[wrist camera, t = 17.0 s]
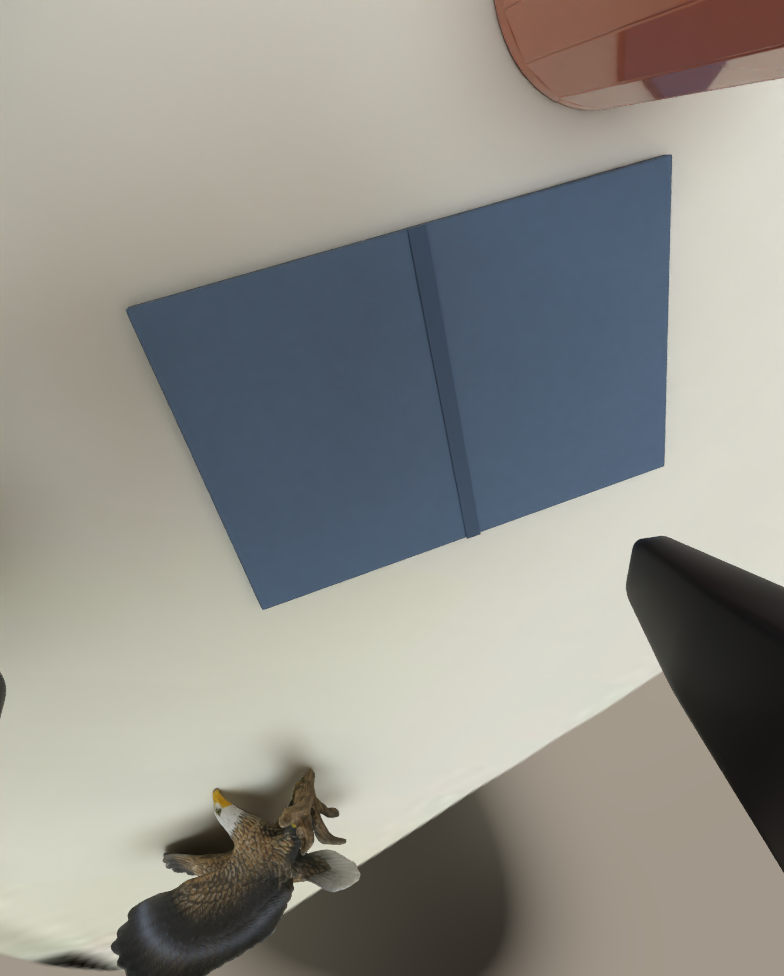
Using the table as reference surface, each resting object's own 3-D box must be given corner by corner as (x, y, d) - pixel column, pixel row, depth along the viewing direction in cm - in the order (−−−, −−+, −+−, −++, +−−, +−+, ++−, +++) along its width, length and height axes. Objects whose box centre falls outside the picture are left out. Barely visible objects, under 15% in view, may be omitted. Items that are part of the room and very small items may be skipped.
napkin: (261, 604, 23) (262, 612, 23) (126, 307, 17) (124, 310, 17) (658, 462, 26) (666, 467, 25) (664, 154, 19) (674, 153, 19)
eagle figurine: (230, 738, 25) (75, 899, 24) (334, 893, 21) (159, 1082, 21) (304, 732, 31) (185, 857, 31) (392, 848, 28) (261, 990, 28)
